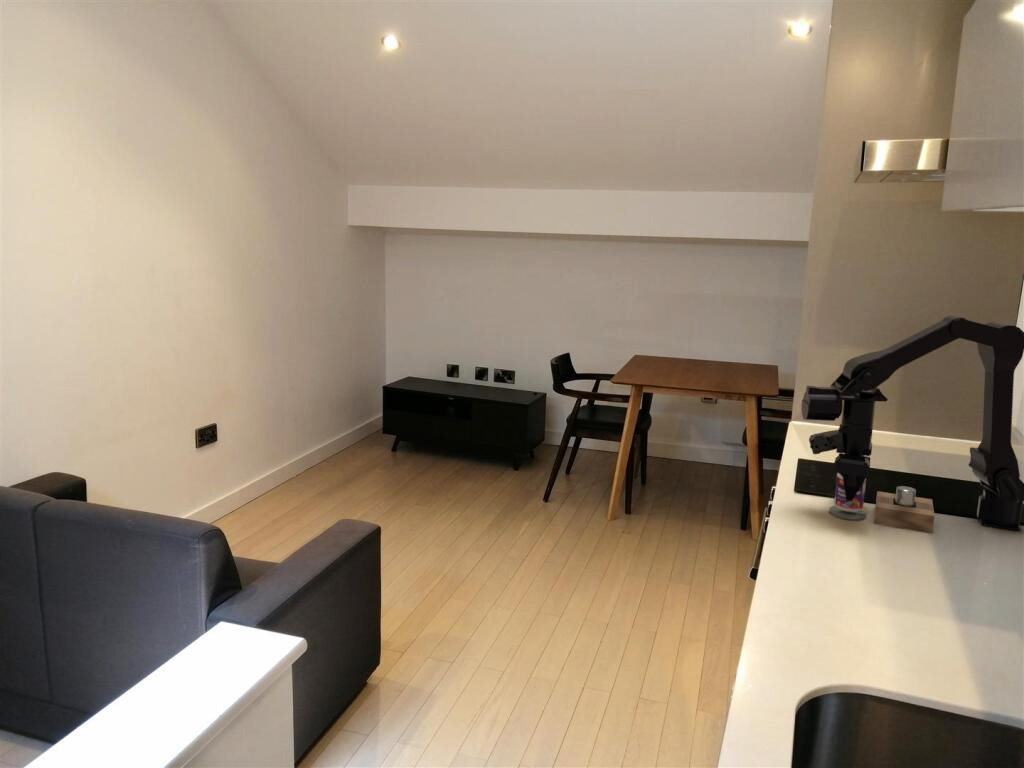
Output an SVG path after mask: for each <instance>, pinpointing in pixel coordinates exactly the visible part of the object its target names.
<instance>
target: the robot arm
mask: <svg viewBox="0 0 1024 768" xmlns="http://www.w3.org/2000/svg"><path fill="white" fill-rule="evenodd" d="M958 339H962V340H966V341H970V342H973V343H976V345H977V351H978V355H979V358H980V360H981V362H982V365H983V368H984V384H983V385H984V390H983V416H982V417H983V419H982V439H981V442H980V443H979V444H978V446H977V447H970V448H969V455H970V459H969V461H970V462H969V463H968V467H970V469H972V471H971V472H972V473H973V475H974V476H975V477H976V478H978V479H979V483H980V486H982V487H984V488H983V492H982V495H979V496H978V503H977V504H978V505H977V510H976V517H977V519H979V521H980V524H981V525H982V526H985V527H986V526H988V527H992V528H993V527H994V528H1000V529H1005V530H1012V531H1018V532H1019V531H1021V529H1022V527H1021V525H1020V522H1021V516H1022V509H1023V502H1024V481H1022V479H1021V477H1020V476H1021V474H1020V468H1019V460H1018V458H1017V455H1016V453H1015V450H1014V448H1013V446H1012V430H1013V426H1012V425H1013V404H1014V386H1015V385H1014V382H1015V380H1014V379H1015V371H1016V369H1017V367H1018V366H1019V363H1020V362H1021V361H1022V358H1023V356H1024V331H1023V329H1021V328H1020V327H1019V326H1016V325H1013V324H1010V323H1005V322H1001V321H990V322H987V323H985V324H983V323H980V322H976V321H972V320H969V319H967V318H965V317H961V316H957V315H948V316H945V317H944V318H942V319H941V320H940V321H938V322H936V323H935V324H932V325H930V326H929V327H926V328H924V329H923V330H921V331H919V332H917V333H915V334H912V335H911V336H909V337H907V338H904V339H902V340H901V341H899V342H896V343H894V344H893V345H891V346H889V347H886V348H885V349H881V350H877V351H871V352H867V353H864V354H861V355H858V356H854V357H853V358H850V359H849V360H847V361H846V362H845V364H844V367H843V369H842V372H841V373H840V375H838V377H837V378H836V379H835V380H834V381H832V383H831V384H830V385H829V386H826V387H825V386H816V385H807V386H806V388H805V392H804V393H803V397H802V399H801V415H802V419H803V420H805V421H806V420H807V421H829V422H835V421H836V419H839V418H840V417H841V422H840V423H839V427H838V429H835V430H834V429H833V430H829V431H823V432H819V433H814V434H813V433H812V434H811V435H810V436H809V439H808V442H809V448H810V449H811V451H812V455H818V454H821V453H825V452H830V451H834V450H836V451H835V453H836V454H838V455H837V456H836V457H835V458H834V462H833V472H834V473H839V474H840V475H841V476H842V477H843V482H844V488H845V495H846V500H847V501H852V500H853V499H854V497H855V495H856V494H857V492H858V490H859V489H860V487H861V485H862V484H863V482H864V481H865V479H866V480H867V478H868V477H869V476H870V470H871V469H870V468H871V457H870V456H872V449H873V443H872V438H873V427H874V420H875V419H874V418H875V410H876V409H875V408H876V402H887V401H889V400H888V397H886V396H885V395H884V394H883V393H882V391H881V389H880V388H879V386H880V385H882V384H883V383H885V382H886V381H888V380H889V379H890V378H891V377H892V376H893V375H894V374H895V373H896V371H898V370H900V369H901V368H902V367H904V366H906V365H908V364H910V363H912V362H914V361H916V360H919V359H920V358H922V357H924V356H926V355H928V354H930V353H932V352H934V351H936V350H938V349H940V348H943V347H944V346H946V345H949V344H950V343H952V342H955V341H956V340H958Z"/></svg>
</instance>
